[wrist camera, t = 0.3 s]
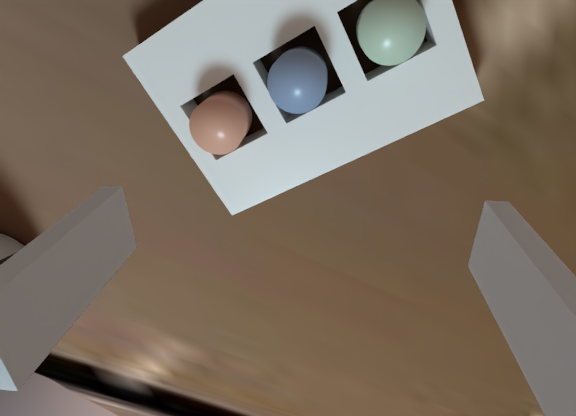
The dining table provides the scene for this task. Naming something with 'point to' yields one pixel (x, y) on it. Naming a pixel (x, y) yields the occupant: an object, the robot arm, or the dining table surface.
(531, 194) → the dining table surface
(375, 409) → the dining table surface
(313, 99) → the slate button
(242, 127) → the terracotta button
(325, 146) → the panel
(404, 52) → the sage button
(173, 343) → the dining table surface
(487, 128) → the dining table surface
